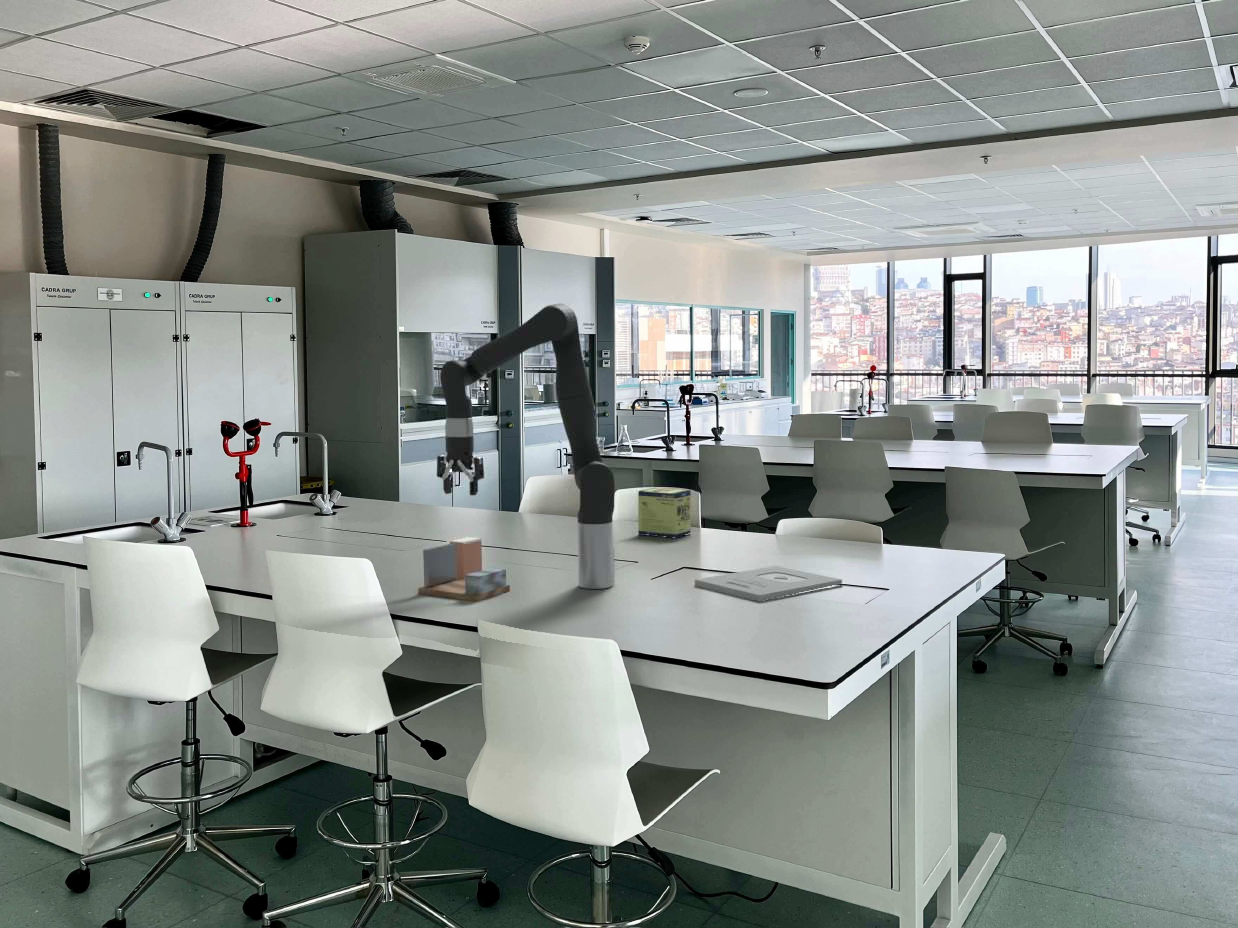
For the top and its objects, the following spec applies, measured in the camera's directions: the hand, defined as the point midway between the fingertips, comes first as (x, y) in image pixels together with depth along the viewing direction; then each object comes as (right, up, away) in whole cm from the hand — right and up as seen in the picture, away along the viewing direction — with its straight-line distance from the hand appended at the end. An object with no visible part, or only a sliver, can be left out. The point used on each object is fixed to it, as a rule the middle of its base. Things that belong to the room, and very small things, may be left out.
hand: (460, 494), depth 282 cm
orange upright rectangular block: (+1, -24, +5) cm, 24 cm away
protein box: (+59, -17, +78) cm, 99 cm away
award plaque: (+82, -25, -7) cm, 86 cm away
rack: (+3, -25, -11) cm, 28 cm away
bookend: (-4, -23, -7) cm, 25 cm away
